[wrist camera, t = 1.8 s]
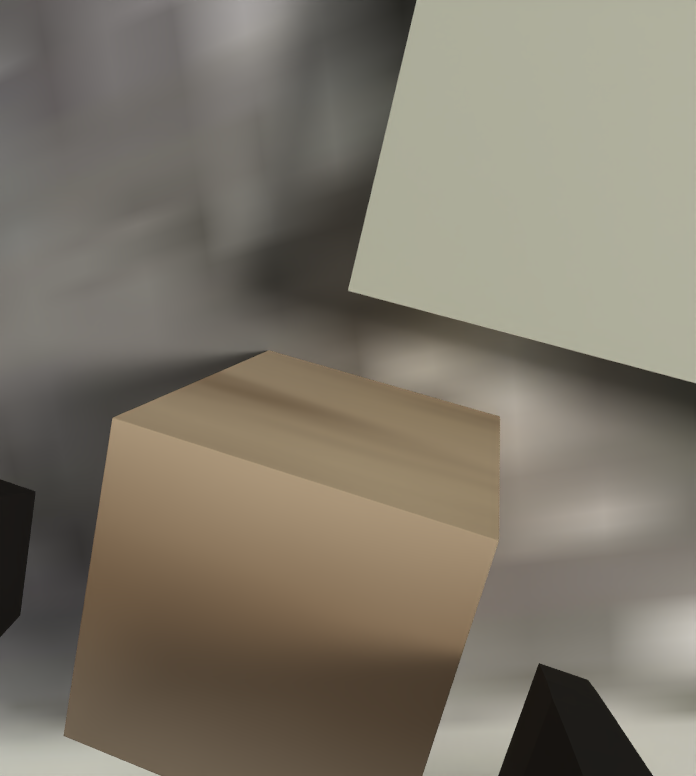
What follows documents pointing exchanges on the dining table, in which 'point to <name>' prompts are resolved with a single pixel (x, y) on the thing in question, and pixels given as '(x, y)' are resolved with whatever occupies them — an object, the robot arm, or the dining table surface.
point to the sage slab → (544, 176)
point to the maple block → (283, 574)
